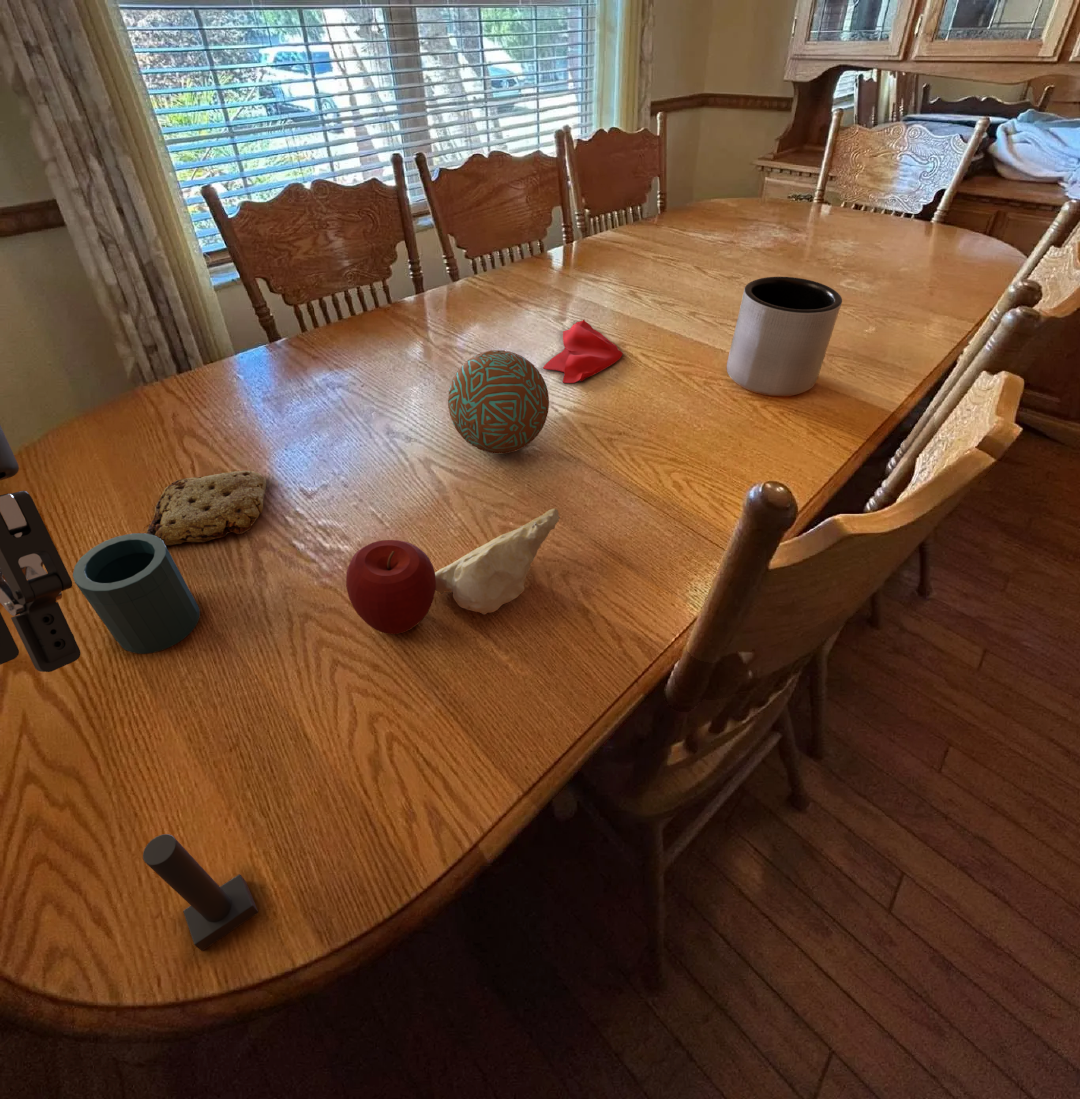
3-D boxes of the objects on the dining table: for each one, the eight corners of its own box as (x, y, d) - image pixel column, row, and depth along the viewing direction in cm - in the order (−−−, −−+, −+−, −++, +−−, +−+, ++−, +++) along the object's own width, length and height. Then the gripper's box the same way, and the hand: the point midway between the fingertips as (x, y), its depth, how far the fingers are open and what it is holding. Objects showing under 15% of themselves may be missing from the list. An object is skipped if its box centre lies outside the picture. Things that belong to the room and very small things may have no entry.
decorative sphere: (566, 438, 100) (570, 349, 90) (510, 485, 91) (508, 392, 81) (491, 410, 107) (487, 324, 96) (432, 452, 97) (420, 361, 87)
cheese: (437, 649, 72) (539, 606, 64) (403, 594, 71) (502, 544, 63) (497, 592, 85) (587, 551, 77) (468, 545, 84) (557, 499, 76)
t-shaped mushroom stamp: (201, 951, 48) (128, 891, 39) (190, 917, 50) (117, 851, 41) (258, 912, 50) (201, 846, 41) (245, 881, 52) (187, 811, 43)
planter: (807, 361, 121) (833, 278, 110) (822, 403, 109) (853, 315, 99) (722, 355, 122) (739, 272, 112) (727, 396, 111) (748, 308, 100)
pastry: (303, 500, 88) (297, 483, 86) (194, 572, 78) (185, 555, 76) (224, 460, 95) (218, 443, 93) (114, 522, 85) (104, 505, 83)
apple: (406, 664, 68) (392, 601, 61) (339, 630, 71) (318, 567, 65) (457, 606, 74) (449, 544, 67) (392, 578, 77) (379, 515, 71)
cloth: (608, 389, 112) (609, 378, 111) (534, 378, 115) (534, 367, 113) (633, 330, 130) (634, 319, 129) (569, 322, 133) (569, 311, 132)
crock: (127, 666, 67) (81, 604, 61) (109, 618, 72) (65, 555, 66) (210, 628, 71) (175, 565, 65) (187, 585, 76) (153, 522, 69)
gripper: (-220, 444, 37) (-86, 691, 41) (-143, 395, 29) (10, 700, 33) (-59, 423, 43) (43, 639, 47) (36, 378, 36) (147, 637, 40)
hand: (29, 664), depth 40 cm, fingers open, 8 cm apart
